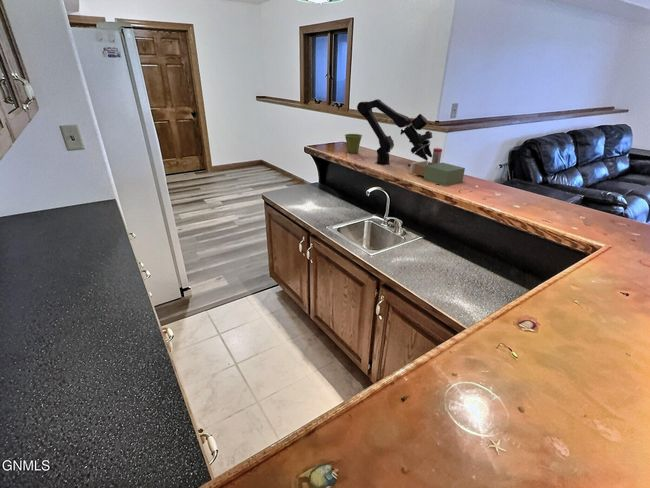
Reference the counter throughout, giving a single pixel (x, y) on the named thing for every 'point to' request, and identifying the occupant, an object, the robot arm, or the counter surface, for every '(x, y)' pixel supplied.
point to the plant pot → (353, 142)
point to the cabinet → (444, 173)
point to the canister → (436, 155)
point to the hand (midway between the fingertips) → (429, 158)
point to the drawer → (419, 167)
